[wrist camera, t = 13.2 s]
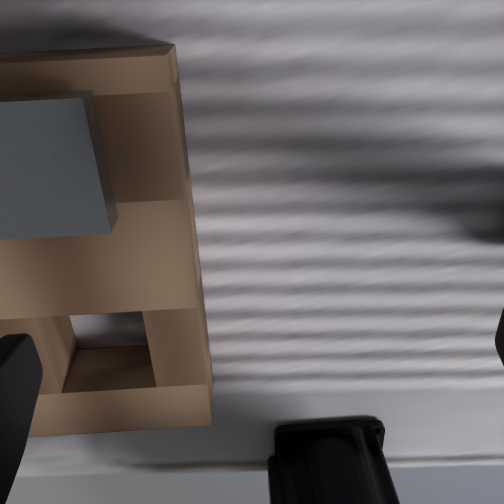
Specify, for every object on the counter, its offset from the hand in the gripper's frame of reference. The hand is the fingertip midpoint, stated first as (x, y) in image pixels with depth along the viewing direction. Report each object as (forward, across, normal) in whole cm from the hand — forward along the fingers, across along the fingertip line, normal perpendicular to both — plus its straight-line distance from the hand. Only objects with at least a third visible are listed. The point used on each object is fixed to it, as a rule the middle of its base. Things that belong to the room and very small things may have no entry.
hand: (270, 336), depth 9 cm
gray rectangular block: (+12, +7, -1) cm, 14 cm away
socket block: (+12, +7, +4) cm, 14 cm away
